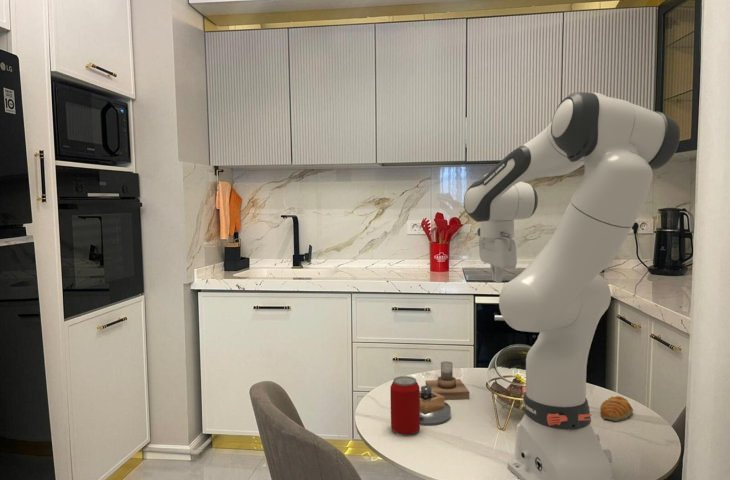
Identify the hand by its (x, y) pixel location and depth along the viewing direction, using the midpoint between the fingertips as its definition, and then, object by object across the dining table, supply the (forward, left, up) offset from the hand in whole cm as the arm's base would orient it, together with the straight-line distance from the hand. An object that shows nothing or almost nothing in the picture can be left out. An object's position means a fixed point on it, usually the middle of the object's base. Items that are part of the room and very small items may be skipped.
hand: (497, 281), depth 138 cm
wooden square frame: (-13, +22, -29) cm, 39 cm away
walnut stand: (+1, +14, -31) cm, 34 cm away
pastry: (-18, -24, -32) cm, 43 cm away
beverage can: (-21, +29, -31) cm, 48 cm away
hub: (-13, +22, -31) cm, 41 cm away
